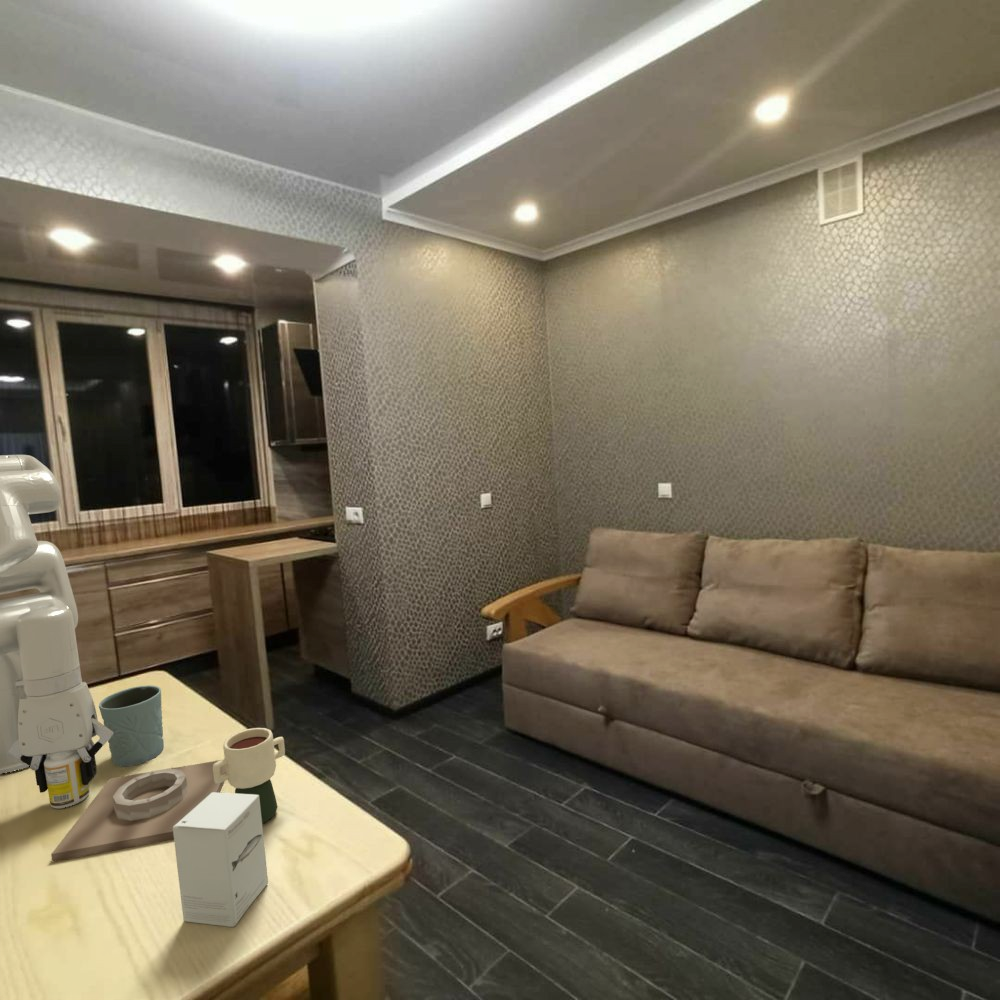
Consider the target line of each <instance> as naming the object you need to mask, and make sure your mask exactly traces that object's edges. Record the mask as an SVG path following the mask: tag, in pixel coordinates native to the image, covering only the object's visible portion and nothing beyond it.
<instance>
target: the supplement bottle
mask: <svg viewBox="0 0 1000 1000" xmlns="http://www.w3.org/2000/svg"><path fill="white" fill-rule="evenodd" d="M48 755H49V756H48V757H47V758H46V759H45V761H44V768H45V774H46V781H47V787H48V789H47V792H48V793H47V794H48V800H49V805H50V807H51V808H53V809H64V808H65V807H66V808H70V807H72V805H73V806H74V805H77V804H79V803H81V802H82V801H84V800H85V799H87V797H88V796H89V795H90V792H91V789H90V783H89V784H88V785H82V779H81V772H80V763H81V762H82V758H81V756H80V755H79V753H78V751H77V750H72V751H66V752H60V753H53V754H48ZM69 806H70V807H69ZM66 808H65V809H66Z"/></svg>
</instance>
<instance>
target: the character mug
mask: <svg viewBox="0 0 1000 1000" xmlns="http://www.w3.org/2000/svg"><path fill="white" fill-rule="evenodd" d="M276 745H277V746H278V751H277V752H276V751H275V746H276ZM285 748H286V747H285V739H284V737H283V736H278V737H275V738H274V734H273V732H272V730H271V729H268V728H266V727H253V728H247V729H244V730H241V731H240V730H239V731H238V732H236V733H233V734H232V735H230V736H229V737H228V738H226V739H225V741H224V742H223V756H224V759H220V760H221V761H219V760H217V761H218V762H216V763H215V764H214V765H213V774H214V782H215V783H216V784H217V783H221V782H224V781H225V782H226V781H227V782H228V784H229V785H230V786H231V787H233V788H234V793H237V794H254V795H259V799H260V808H261V818H262V824H263V823H264V822H265V823H266V822H267V821H269V820H270V819H271V818H272V817H273V816H274V815H275V814H276V812H277V810H278V806H279V805H278V804H277V803H278V802H277V799H276V794H275V790H274V787H273V783H272V780H271V778H273V776H274V775H275V772H276V769H277V768H276V767H277V764H276V763H277V761H276V760H277V759H279V758H283V756H285V754H286V749H285ZM223 766H225V767H226V774H224V775H222V776H221V774H220V767H223ZM225 782H224V783H225Z"/></svg>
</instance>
